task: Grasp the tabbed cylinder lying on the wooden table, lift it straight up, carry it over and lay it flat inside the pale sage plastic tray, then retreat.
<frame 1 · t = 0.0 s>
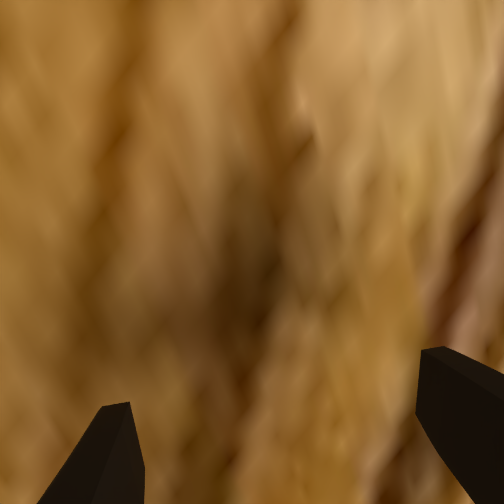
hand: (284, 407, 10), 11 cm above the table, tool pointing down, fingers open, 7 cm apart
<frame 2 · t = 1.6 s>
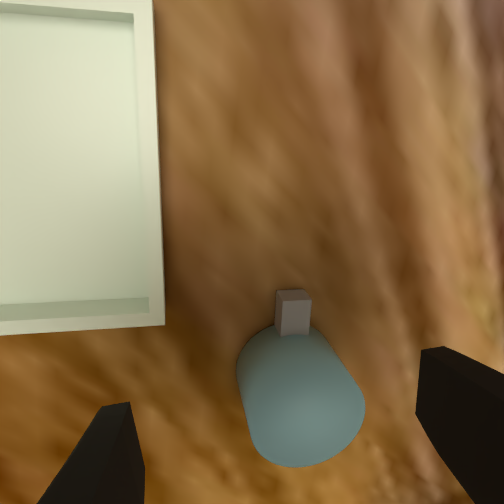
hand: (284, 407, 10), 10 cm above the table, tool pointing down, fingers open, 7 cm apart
tray: (1, 172, 15), on the table
tabbed cylinder: (284, 366, 21), on the table
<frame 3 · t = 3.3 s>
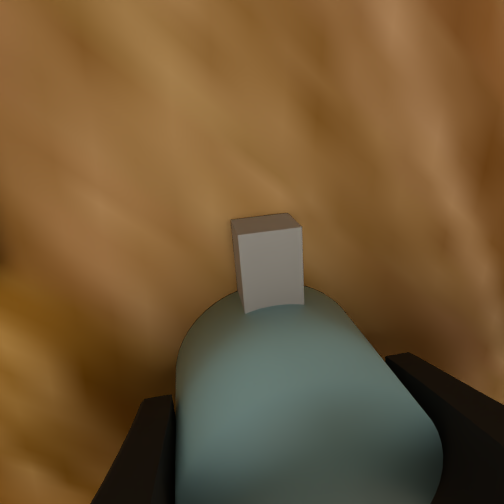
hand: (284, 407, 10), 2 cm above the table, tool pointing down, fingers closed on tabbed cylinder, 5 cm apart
tabbed cylinder: (270, 367, 11), on the table, touching gripper
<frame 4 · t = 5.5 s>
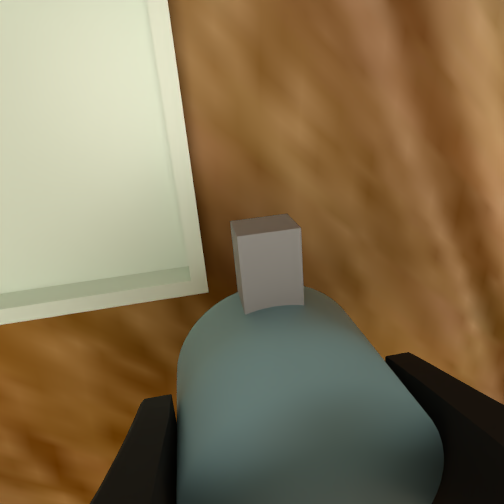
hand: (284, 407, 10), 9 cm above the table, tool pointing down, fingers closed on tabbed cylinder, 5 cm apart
tray: (18, 146, 14), on the table
tabbed cylinder: (271, 367, 11), point 7 cm above the table, touching gripper
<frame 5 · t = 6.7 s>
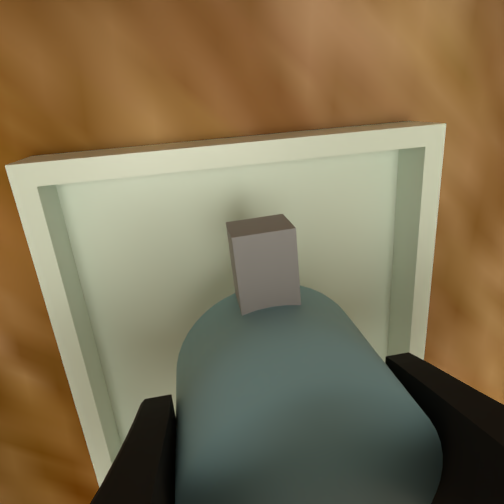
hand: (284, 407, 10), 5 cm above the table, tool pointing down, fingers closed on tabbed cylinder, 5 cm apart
tray: (247, 305, 15), on the table
tabbed cylinder: (270, 367, 11), point 4 cm above the table, touching gripper
when the fingers open (3 cm above the table, at t = 7.6 s): tabbed cylinder stays where it is, resting on tray.
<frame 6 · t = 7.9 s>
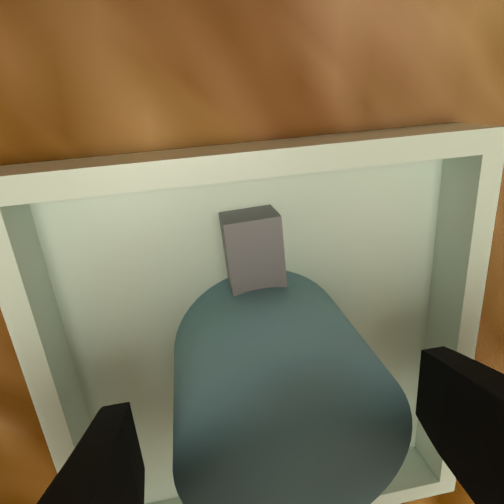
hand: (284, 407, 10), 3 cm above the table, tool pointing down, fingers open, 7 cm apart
tray: (260, 338, 13), on the table
tabbed cylinder: (261, 348, 12), resting on tray
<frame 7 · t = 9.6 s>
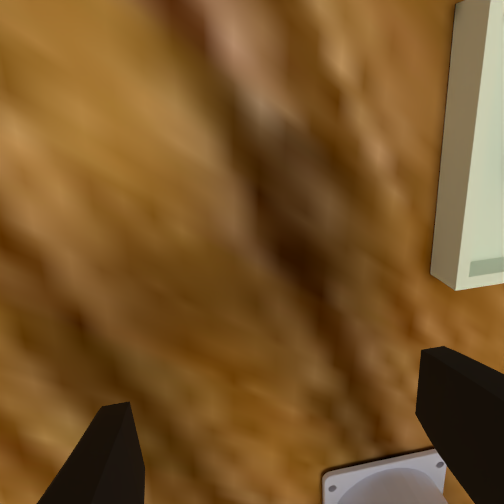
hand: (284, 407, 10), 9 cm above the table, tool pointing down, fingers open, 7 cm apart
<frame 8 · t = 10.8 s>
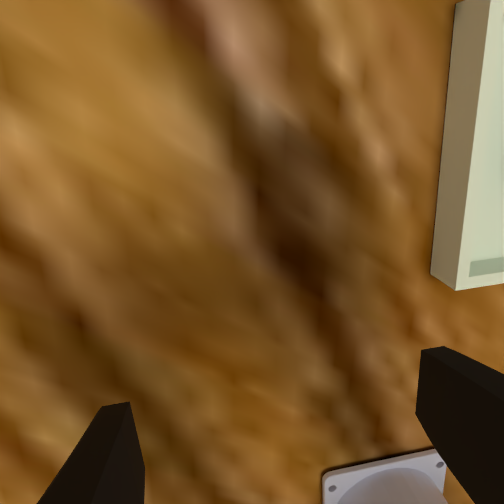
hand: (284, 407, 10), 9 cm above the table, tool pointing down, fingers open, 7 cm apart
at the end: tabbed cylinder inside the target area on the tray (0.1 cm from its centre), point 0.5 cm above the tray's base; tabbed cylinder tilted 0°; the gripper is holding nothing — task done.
